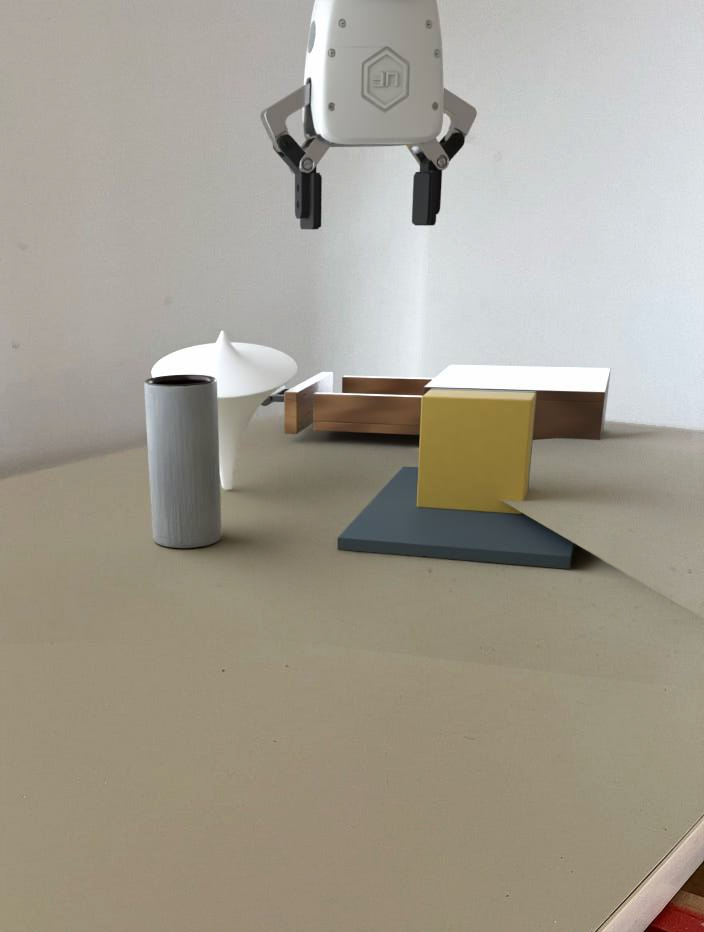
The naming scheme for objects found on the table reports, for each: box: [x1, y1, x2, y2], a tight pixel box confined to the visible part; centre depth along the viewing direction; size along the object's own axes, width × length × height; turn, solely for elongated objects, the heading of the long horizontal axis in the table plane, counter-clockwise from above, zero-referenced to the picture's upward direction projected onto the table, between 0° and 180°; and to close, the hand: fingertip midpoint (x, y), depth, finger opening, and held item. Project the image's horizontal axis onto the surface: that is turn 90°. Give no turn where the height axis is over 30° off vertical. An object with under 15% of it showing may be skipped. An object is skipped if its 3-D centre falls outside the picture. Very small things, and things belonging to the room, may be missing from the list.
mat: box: [336, 465, 576, 570], centre depth 71 cm, size 20×14×1 cm
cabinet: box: [424, 364, 612, 441], centre depth 92 cm, size 15×14×6 cm
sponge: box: [417, 388, 537, 514], centre depth 69 cm, size 7×4×8 cm, turn 69°
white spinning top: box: [151, 329, 298, 491], centre depth 77 cm, size 10×11×12 cm
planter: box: [143, 374, 222, 549], centre depth 66 cm, size 4×4×10 cm
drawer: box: [260, 371, 435, 436], centre depth 97 cm, size 17×12×4 cm
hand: (367, 227), depth 82 cm, fingers open, 9 cm apart
